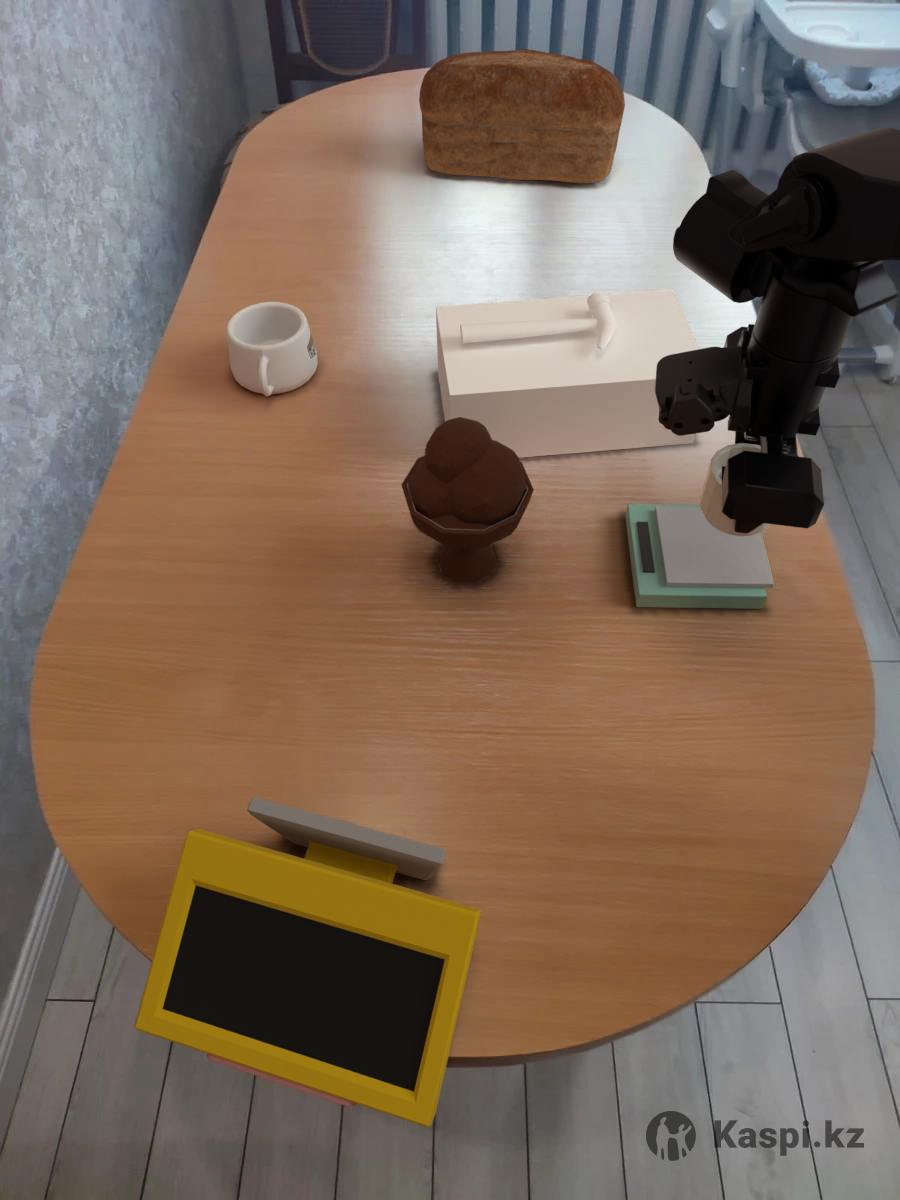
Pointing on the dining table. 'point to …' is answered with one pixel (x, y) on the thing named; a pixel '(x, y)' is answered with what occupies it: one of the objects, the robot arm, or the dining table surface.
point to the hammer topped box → (562, 369)
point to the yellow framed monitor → (314, 962)
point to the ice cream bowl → (466, 496)
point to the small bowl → (713, 490)
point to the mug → (271, 348)
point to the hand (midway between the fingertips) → (740, 502)
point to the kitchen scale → (693, 560)
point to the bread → (521, 116)
